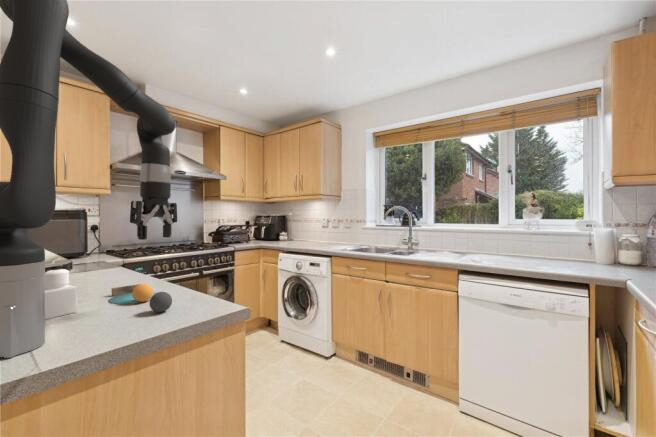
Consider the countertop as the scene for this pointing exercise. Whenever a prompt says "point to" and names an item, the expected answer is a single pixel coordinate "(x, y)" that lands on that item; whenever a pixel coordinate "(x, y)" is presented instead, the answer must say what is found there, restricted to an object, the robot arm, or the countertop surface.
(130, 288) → the walnut stopper strip
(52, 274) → the medicine bottle
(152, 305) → the black ball
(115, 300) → the teal mark
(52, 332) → the countertop surface
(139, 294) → the orange ball
